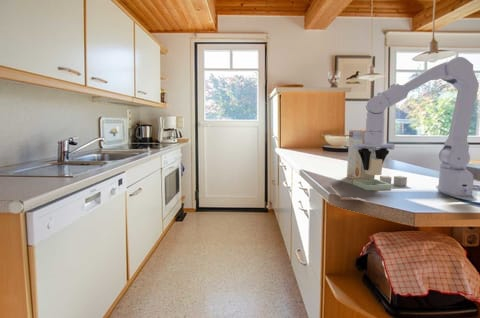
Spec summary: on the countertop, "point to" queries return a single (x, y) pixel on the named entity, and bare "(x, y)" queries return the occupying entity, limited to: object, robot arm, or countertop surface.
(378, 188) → the sage tray
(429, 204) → the countertop surface
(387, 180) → the grey pebble
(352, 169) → the cracker box
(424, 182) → the countertop surface
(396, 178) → the grey pebble
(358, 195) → the countertop surface
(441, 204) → the countertop surface
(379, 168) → the sandstone block
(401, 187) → the slate board
